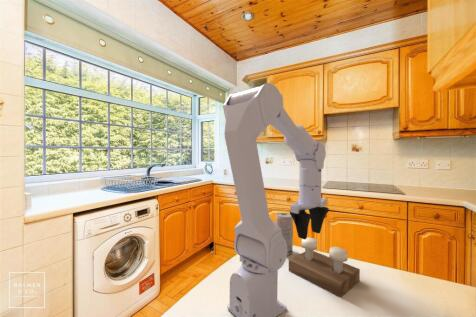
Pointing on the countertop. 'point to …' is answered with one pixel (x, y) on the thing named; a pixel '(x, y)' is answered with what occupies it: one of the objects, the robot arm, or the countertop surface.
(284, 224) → the energy drink
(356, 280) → the block
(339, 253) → the knob near
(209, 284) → the countertop surface
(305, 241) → the knob far
